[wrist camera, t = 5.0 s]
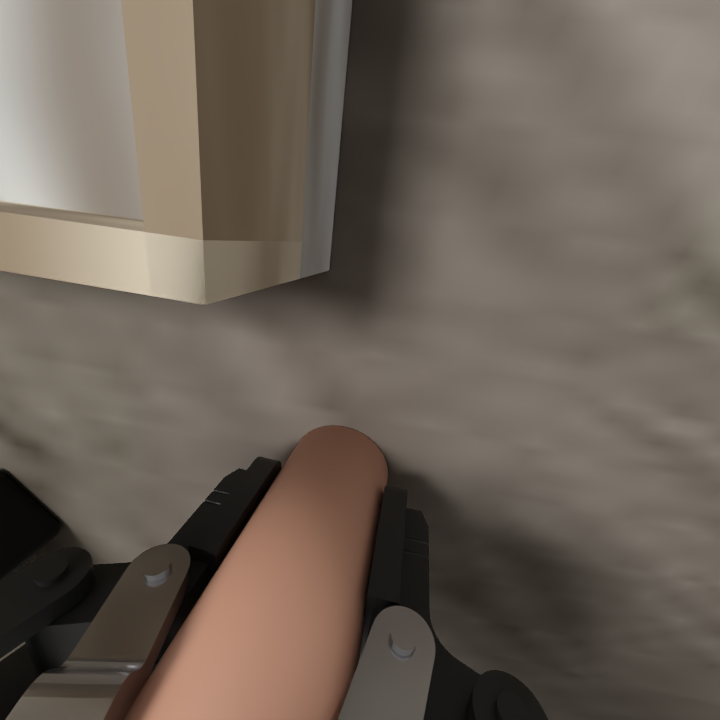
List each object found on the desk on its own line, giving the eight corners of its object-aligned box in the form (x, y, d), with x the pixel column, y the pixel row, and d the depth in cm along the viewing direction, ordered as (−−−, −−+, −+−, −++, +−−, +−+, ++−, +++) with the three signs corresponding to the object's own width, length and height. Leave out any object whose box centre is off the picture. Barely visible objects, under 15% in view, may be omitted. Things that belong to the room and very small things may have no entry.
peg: (395, 437, 11) (314, 979, 3) (380, 517, 13) (293, 1053, 4) (295, 416, 12) (-16, 833, 3) (290, 495, 13) (53, 941, 5)
